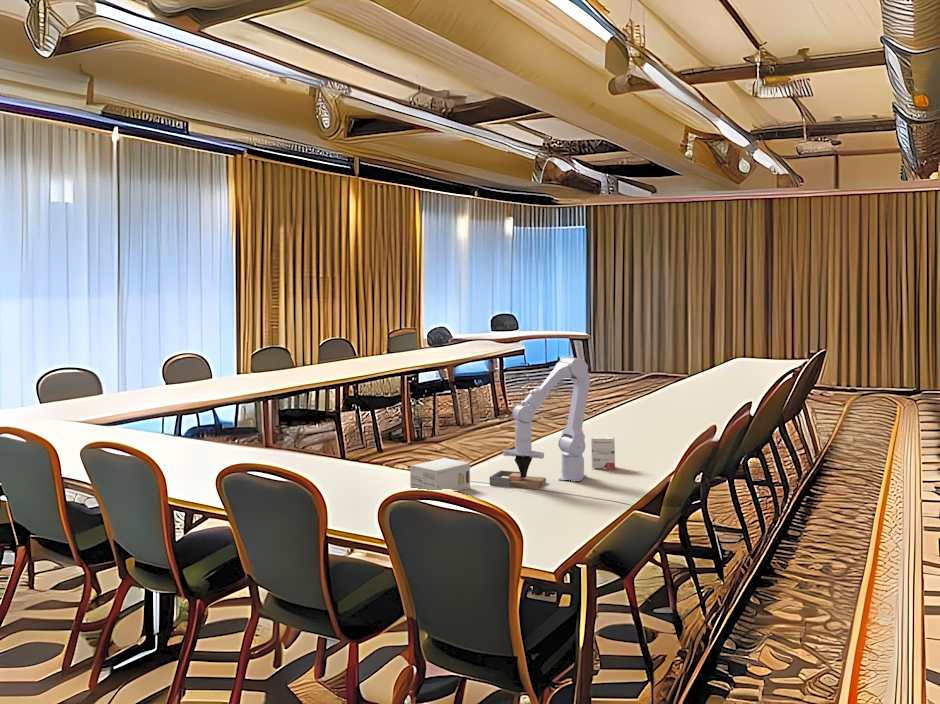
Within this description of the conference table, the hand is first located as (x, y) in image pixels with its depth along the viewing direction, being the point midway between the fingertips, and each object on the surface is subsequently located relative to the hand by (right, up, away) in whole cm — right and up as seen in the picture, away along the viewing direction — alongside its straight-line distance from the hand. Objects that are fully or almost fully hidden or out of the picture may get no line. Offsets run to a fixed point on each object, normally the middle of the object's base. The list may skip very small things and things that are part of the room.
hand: (523, 477), depth 301 cm
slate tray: (-6, -3, +4) cm, 8 cm away
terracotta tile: (-3, -1, +1) cm, 3 cm away
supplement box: (-29, -4, -4) cm, 30 cm away
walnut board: (+1, -3, 0) cm, 3 cm away
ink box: (+32, 0, +24) cm, 40 cm away
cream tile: (-6, -2, +3) cm, 7 cm away
